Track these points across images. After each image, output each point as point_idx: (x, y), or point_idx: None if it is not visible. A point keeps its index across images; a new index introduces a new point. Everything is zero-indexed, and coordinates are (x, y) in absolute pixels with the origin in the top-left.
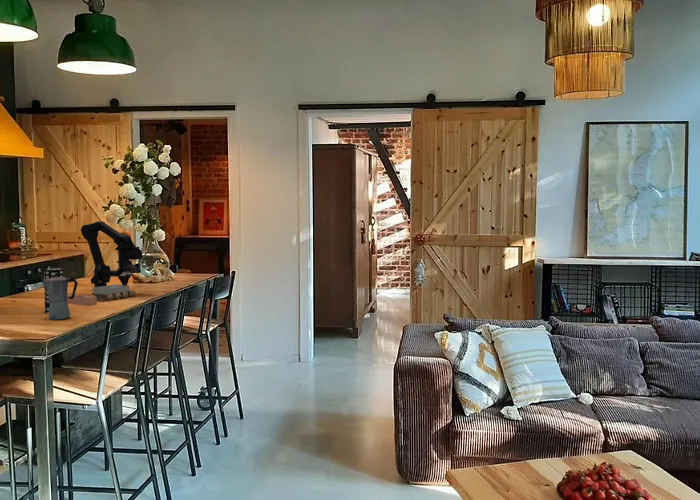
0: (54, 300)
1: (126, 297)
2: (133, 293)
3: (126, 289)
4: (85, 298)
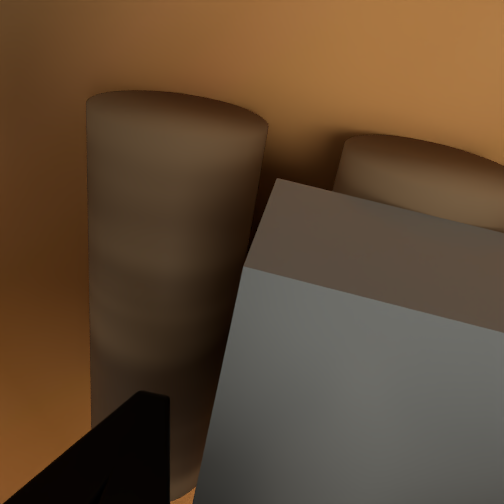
0: None
1: (401, 140)
2: (152, 110)
3: (398, 234)
4: None
